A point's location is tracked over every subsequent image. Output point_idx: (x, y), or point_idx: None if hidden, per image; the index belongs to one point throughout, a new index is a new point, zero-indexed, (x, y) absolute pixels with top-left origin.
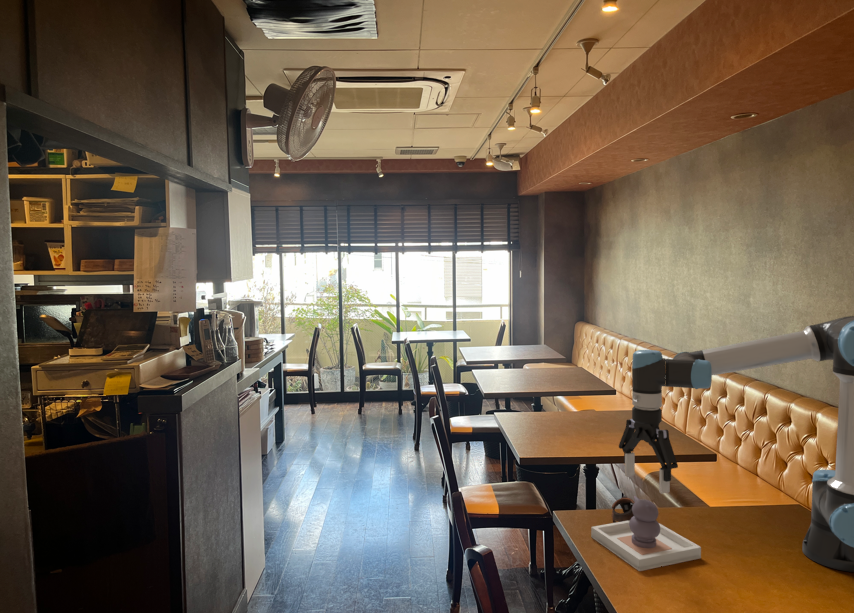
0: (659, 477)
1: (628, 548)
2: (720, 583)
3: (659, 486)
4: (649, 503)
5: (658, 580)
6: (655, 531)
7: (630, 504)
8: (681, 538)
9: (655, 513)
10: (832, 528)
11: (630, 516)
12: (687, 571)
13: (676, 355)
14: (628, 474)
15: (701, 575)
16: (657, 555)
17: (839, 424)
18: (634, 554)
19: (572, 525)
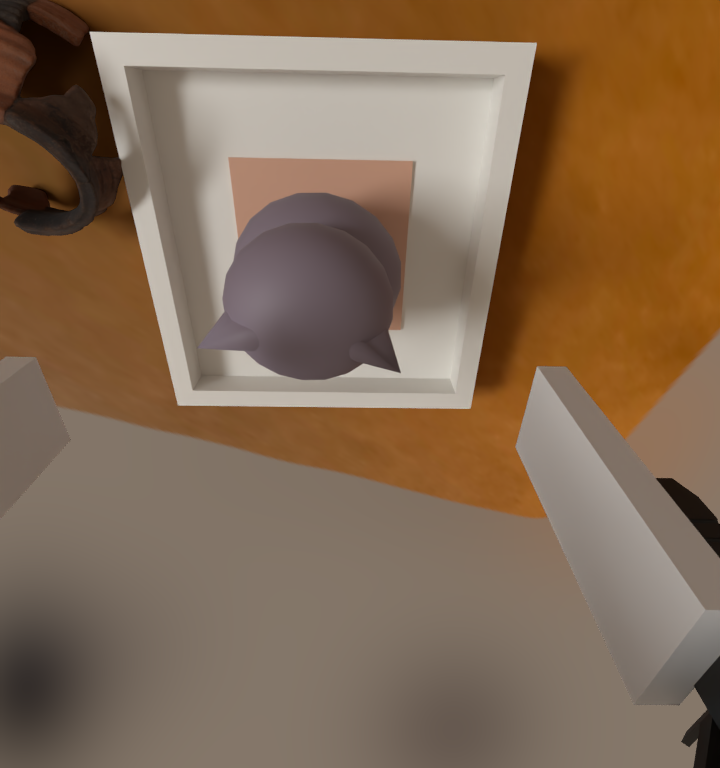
0: (573, 571)
1: None
2: (690, 169)
3: (535, 488)
4: (344, 329)
5: (533, 368)
6: (400, 278)
7: None
8: (409, 70)
9: (391, 299)
10: None
11: (105, 179)
12: (554, 226)
13: None
14: (50, 435)
15: (607, 194)
16: (481, 330)
17: None
18: (433, 400)
19: (80, 388)
